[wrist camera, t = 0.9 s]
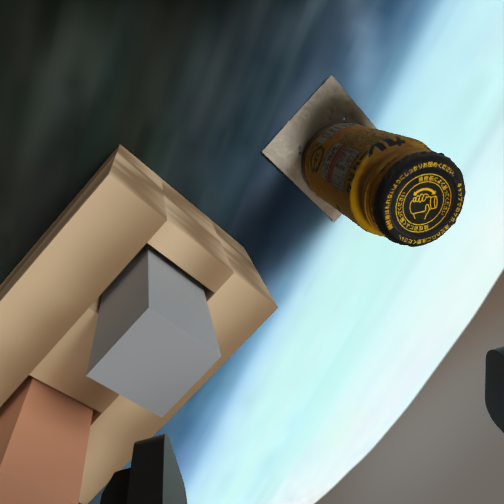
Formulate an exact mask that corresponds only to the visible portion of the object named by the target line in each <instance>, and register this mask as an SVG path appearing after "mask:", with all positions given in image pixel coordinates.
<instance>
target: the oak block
mask: <svg viewBox="0 0 504 504" xmlns="http://www.w3.org/2000/svg"><path fill="white" fill-rule="evenodd" d="M146 243H148V244H149V245H151V246H152V247H154V248H155V249H156V250H158V251H159V252H160V253H162V254H163V255H164V256H166V257H167V258H168V259H170V260H171V261H172V262H174V263H175V264H176V265H178V266H179V267H180V268H182V269H183V270H184V271H186V272H187V273H188V274H190V275H191V276H192V277H194V278H195V279H196V280H198V281H199V282H200V283H202V285H203V289H204V293H205V297H206V300H207V304H208V308H209V312H210V315H211V319H212V323H213V327H214V330H215V334H216V338H217V342H218V345H219V349H220V353H221V357H220V358H219V359H218V360H217V361H216V362H215V363H214V365H213V366H212V367H211V368H210V369H209V370H208V371H207V372H206V373H205V374H204V375H203V376H202V377H201V378H200V379H199V380H198V381H197V382H196V383H195V384H194V385H193V386H192V387H191V388H190V389H189V390H188V391H187V392H186V393H185V395H184V396H183V397H182V398H181V399H180V400H179V401H178V402H177V403H176V404H175V405H174V406H173V407H172V408H171V409H170V410H169V411H168V412H167V413H166V414H165V415H164V416H163V417H162V418H161V417H159V416H158V415H156V414H154V413H152V412H150V411H149V410H147V409H145V408H143V407H141V406H140V405H138V404H136V403H134V402H132V401H131V400H129V399H127V398H125V397H123V396H122V395H120V394H118V393H116V392H114V391H113V390H111V389H109V388H107V387H105V386H104V385H102V384H100V383H98V382H96V381H95V380H93V379H91V378H89V377H87V376H86V374H87V369H88V364H89V359H90V354H91V349H92V343H93V338H94V333H95V328H96V323H97V318H98V313H99V308H100V303H101V298H102V293H103V291H104V290H105V289H106V288H107V287H108V286H109V285H110V284H111V282H112V281H113V280H114V279H115V278H116V277H117V276H118V275H119V274H120V272H121V271H122V270H123V269H124V268H125V267H126V266H127V265H128V263H129V262H130V261H131V260H132V259H133V258H134V257H135V256H136V254H137V253H138V252H139V251H140V250H141V249H142V248H143V247H144V246H145V244H146ZM277 308H278V307H277V305H276V303H275V302H274V300H273V298H272V296H271V295H270V293H269V291H268V289H267V287H266V286H265V284H264V282H263V280H262V279H261V277H260V275H259V273H258V271H257V270H256V268H255V266H254V264H253V263H252V261H251V259H250V257H249V255H248V254H247V252H246V250H245V248H244V247H243V246H242V245H240V244H239V243H238V242H237V241H236V240H234V239H233V238H232V237H231V236H230V235H228V234H227V233H226V232H225V231H224V230H222V229H221V228H220V227H219V226H218V225H216V224H215V223H214V222H213V221H212V220H210V219H209V218H208V217H207V216H206V215H204V214H203V213H202V212H201V211H200V210H198V209H197V208H196V207H195V206H194V205H192V204H191V203H190V202H189V201H188V200H186V199H185V198H184V197H183V196H182V195H180V194H179V193H178V192H177V191H176V190H174V189H173V188H172V187H171V186H170V185H168V184H167V183H166V182H165V181H164V180H162V179H161V178H160V177H159V176H158V175H156V174H155V173H154V172H153V171H152V170H150V169H149V168H148V167H147V166H146V165H144V164H143V163H142V162H141V161H140V160H138V159H137V158H136V157H135V156H134V155H132V154H131V153H130V152H129V151H128V150H126V149H125V148H124V147H123V146H122V145H119V146H118V147H117V148H116V150H115V151H114V152H113V153H112V154H111V155H110V157H109V158H108V159H107V160H106V161H105V162H104V164H103V165H102V166H101V167H100V168H99V170H98V171H97V172H96V173H95V174H94V175H93V177H92V178H91V179H90V180H89V181H88V183H87V184H86V185H85V186H84V187H83V188H82V190H81V191H80V192H79V193H78V194H77V195H76V197H75V198H74V199H73V200H72V201H71V203H70V204H69V205H68V206H67V207H66V208H65V210H64V211H63V212H62V213H61V214H60V216H59V217H58V218H57V219H56V220H55V221H54V223H53V224H52V225H51V226H50V227H49V228H48V230H47V231H46V232H45V233H44V234H43V236H42V237H41V238H40V239H39V240H38V241H37V243H36V244H35V245H34V246H33V247H32V249H31V250H30V251H29V252H28V253H27V254H26V256H25V257H24V258H23V259H22V260H21V261H20V263H19V264H18V265H17V266H16V267H15V269H14V270H13V271H12V272H11V273H10V274H9V276H8V277H7V278H6V279H5V280H4V282H3V283H2V284H1V285H0V407H1V406H2V405H3V403H4V402H5V401H6V400H7V399H8V398H9V397H10V396H11V394H12V393H13V392H14V391H15V390H16V389H17V388H18V387H19V385H20V384H21V383H22V382H23V381H24V380H25V379H26V378H27V377H28V375H30V376H32V377H34V378H36V379H38V380H40V381H42V382H44V383H45V384H47V385H49V386H51V387H53V388H55V389H57V390H59V391H61V392H63V393H64V394H66V395H68V396H70V397H72V398H74V399H76V400H78V401H80V402H82V403H84V404H85V405H87V406H89V407H91V408H93V414H92V420H91V426H90V433H89V439H88V445H87V452H86V458H85V464H84V471H83V477H82V483H81V490H80V496H79V502H80V503H82V504H88V503H89V501H90V500H91V499H92V498H93V497H94V496H95V495H96V494H97V493H98V492H99V491H100V490H101V489H102V488H103V487H104V486H105V485H106V484H107V483H108V482H109V481H110V479H111V478H112V476H113V474H114V472H117V471H120V470H121V469H122V468H123V466H124V465H125V464H126V463H127V462H128V461H129V460H130V459H131V458H132V454H133V446H134V443H135V442H136V441H140V440H144V439H148V438H152V437H153V436H154V435H155V434H156V432H157V431H158V430H159V429H160V428H161V427H162V426H163V425H164V424H165V423H166V422H167V421H168V420H169V419H170V418H171V417H172V416H173V415H174V414H175V413H176V412H177V411H178V410H179V409H180V408H181V407H182V406H183V405H184V404H185V403H186V402H187V401H188V400H189V398H190V397H191V396H192V395H193V394H194V393H195V392H196V391H197V390H198V389H199V388H200V387H201V386H202V385H203V384H204V383H205V382H206V381H207V380H208V379H209V378H210V377H211V376H212V375H213V374H214V373H215V372H216V371H217V370H218V369H219V368H220V367H221V366H222V364H223V363H224V362H225V361H226V360H227V359H228V358H229V357H230V356H231V355H232V354H233V353H234V352H235V351H236V350H237V349H238V348H239V347H240V346H241V345H242V344H243V343H244V342H245V341H246V340H247V339H248V338H249V337H250V336H251V335H252V334H253V333H254V332H255V331H256V329H257V328H258V327H259V326H260V325H261V324H262V323H263V322H264V321H265V320H266V319H267V318H268V317H269V316H270V315H271V314H272V313H273V312H274V311H275V310H276V309H277Z"/></svg>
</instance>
